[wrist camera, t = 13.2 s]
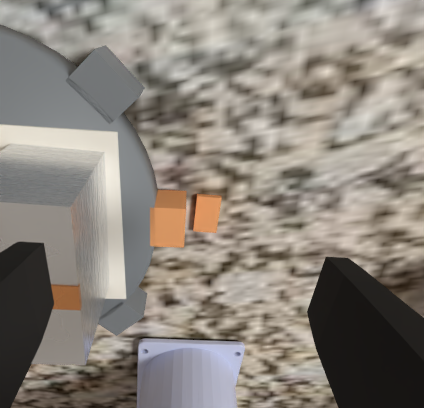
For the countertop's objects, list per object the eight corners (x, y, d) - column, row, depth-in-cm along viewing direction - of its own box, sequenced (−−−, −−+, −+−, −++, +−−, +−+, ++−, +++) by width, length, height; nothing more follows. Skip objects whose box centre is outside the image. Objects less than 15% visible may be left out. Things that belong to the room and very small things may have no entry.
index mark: (215, 230, 21) (216, 232, 20) (193, 228, 21) (193, 231, 20) (221, 195, 20) (221, 198, 19) (197, 193, 19) (197, 196, 19)
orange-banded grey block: (109, 285, 19) (85, 366, 15) (35, 281, 19) (-13, 364, 14) (105, 152, 15) (70, 208, 11) (10, 143, 15) (-66, 198, 10)
